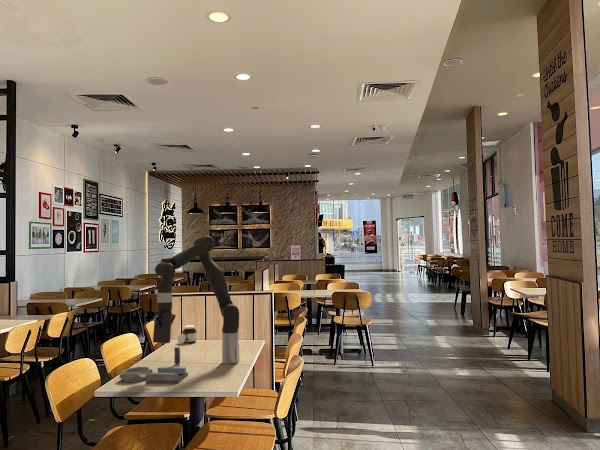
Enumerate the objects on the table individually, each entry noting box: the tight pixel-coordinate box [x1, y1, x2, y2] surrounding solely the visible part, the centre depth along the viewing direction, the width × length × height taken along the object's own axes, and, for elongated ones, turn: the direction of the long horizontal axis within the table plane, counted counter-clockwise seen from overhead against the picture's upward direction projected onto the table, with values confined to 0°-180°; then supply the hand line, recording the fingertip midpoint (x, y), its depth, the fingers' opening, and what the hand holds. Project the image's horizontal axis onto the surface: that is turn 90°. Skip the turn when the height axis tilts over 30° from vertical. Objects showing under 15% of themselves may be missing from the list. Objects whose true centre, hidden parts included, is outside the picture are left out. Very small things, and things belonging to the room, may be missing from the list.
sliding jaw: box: [157, 346, 187, 374], centre depth 254 cm, size 11×14×11 cm
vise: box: [145, 372, 189, 385], centre depth 244 cm, size 16×16×4 cm
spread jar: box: [177, 324, 198, 345], centre depth 340 cm, size 12×11×12 cm
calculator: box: [152, 312, 173, 344], centre depth 251 cm, size 11×4×15 cm, turn 49°
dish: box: [119, 366, 154, 383], centre depth 246 cm, size 14×14×5 cm
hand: (164, 334), depth 252 cm, fingers closed on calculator, 1 cm apart
